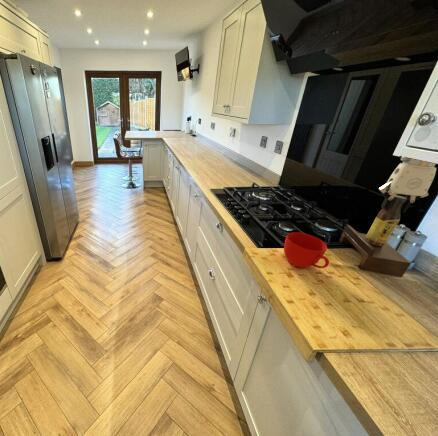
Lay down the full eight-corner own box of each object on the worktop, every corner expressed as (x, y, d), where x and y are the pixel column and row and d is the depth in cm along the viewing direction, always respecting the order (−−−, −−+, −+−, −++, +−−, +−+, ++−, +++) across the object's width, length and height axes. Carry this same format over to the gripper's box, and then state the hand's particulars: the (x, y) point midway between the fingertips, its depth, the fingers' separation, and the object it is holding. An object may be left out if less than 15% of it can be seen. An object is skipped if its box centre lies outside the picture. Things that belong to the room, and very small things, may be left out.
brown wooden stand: (371, 248, 103) (382, 229, 99) (401, 277, 86) (416, 256, 82) (337, 243, 106) (346, 224, 102) (360, 270, 89) (372, 249, 85)
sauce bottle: (377, 248, 91) (403, 200, 82) (360, 240, 96) (383, 194, 88) (388, 246, 93) (415, 199, 84) (371, 238, 98) (395, 193, 89)
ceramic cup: (304, 283, 81) (314, 259, 76) (271, 254, 95) (279, 233, 91) (335, 279, 83) (347, 256, 79) (298, 252, 98) (307, 231, 93)
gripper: (397, 161, 79) (371, 210, 87) (460, 166, 75) (427, 217, 83) (383, 157, 85) (361, 203, 93) (441, 161, 81) (412, 209, 89)
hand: (392, 209), depth 88 cm, fingers closed on sauce bottle, 4 cm apart
